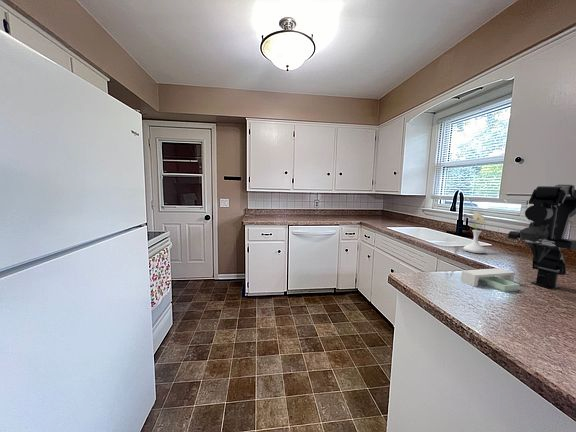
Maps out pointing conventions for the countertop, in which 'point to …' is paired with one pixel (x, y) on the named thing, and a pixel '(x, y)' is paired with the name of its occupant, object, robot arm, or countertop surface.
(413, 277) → the countertop surface
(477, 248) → the flower in vase
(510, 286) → the tray
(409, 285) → the countertop surface
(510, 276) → the shelf
